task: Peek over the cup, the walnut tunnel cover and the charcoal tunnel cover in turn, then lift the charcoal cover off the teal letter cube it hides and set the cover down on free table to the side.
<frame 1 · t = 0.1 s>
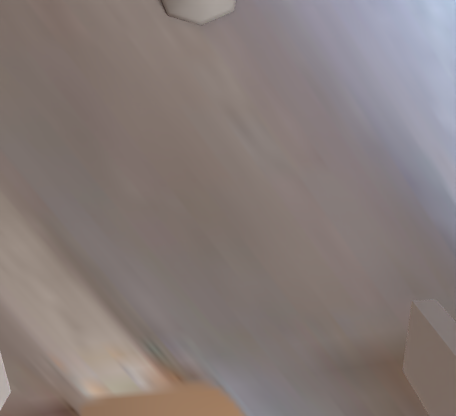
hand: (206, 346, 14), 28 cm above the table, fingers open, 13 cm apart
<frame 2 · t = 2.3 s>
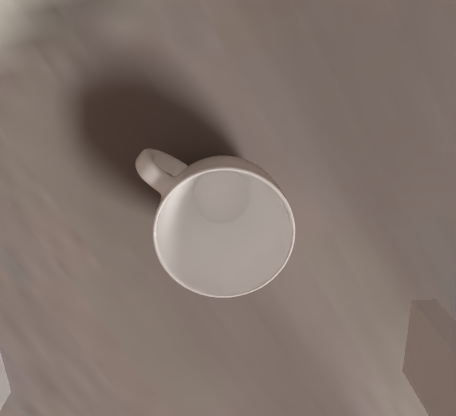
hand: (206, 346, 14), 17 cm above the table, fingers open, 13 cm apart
cup: (208, 185, 30), on the table
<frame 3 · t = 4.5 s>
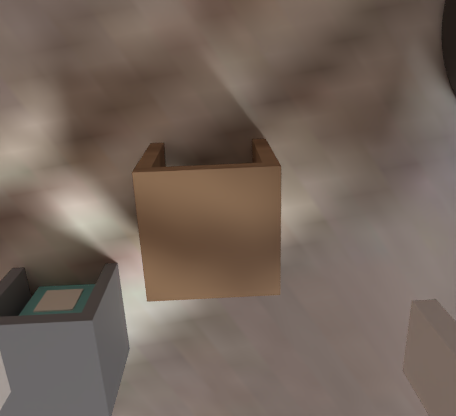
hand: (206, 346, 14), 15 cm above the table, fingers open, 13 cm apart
letter cube: (73, 309, 30), on the table
cover walnut: (210, 195, 28), on the table
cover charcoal: (73, 310, 30), on the table
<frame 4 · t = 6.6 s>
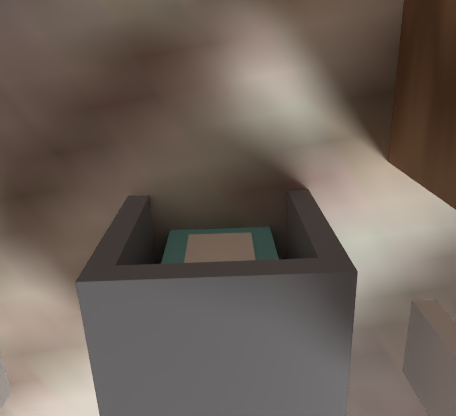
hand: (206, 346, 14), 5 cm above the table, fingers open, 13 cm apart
letter cube: (221, 271, 18), on the table
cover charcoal: (221, 272, 18), on the table
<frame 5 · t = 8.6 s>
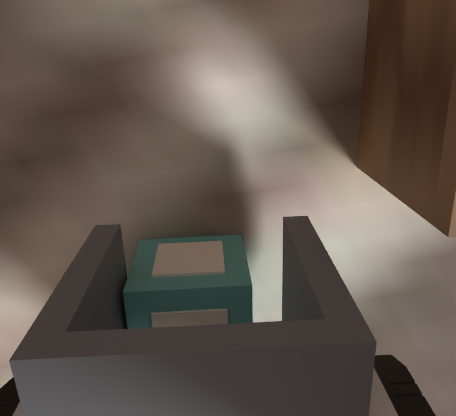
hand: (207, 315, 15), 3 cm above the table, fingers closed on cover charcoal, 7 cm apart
letter cube: (193, 280, 18), on the table
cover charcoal: (207, 310, 16), point 2 cm above the table, touching gripper
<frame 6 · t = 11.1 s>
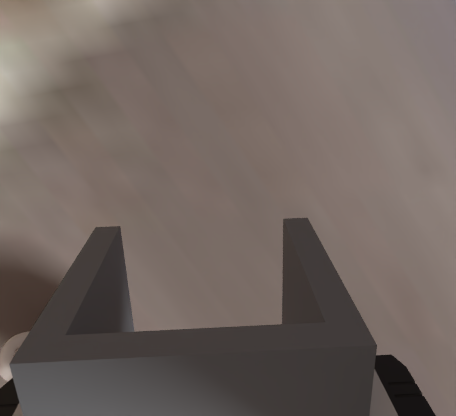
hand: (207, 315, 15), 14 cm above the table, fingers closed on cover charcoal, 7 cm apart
cup: (86, 343, 33), on the table
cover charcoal: (207, 312, 16), point 14 cm above the table, touching gripper
when the fingers open (0 cm above the table, at t = 13.9 s): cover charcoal stays where it is, on the table.
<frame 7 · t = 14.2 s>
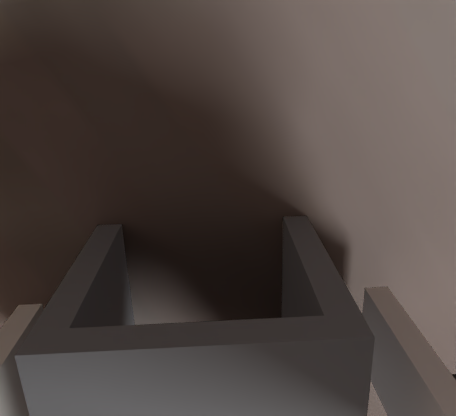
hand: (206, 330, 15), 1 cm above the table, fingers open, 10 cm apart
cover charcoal: (207, 309, 16), on the table
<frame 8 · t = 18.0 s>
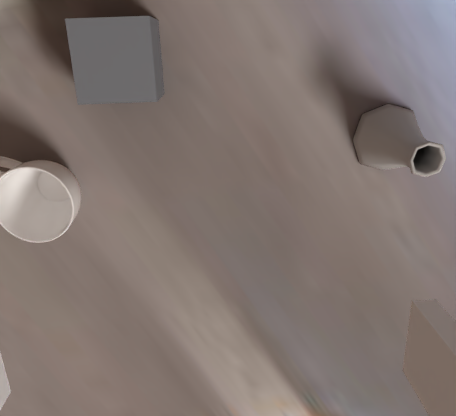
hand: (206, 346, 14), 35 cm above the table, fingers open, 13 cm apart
cup: (47, 178, 47), on the table
flask: (384, 136, 47), on the table
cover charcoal: (126, 59, 43), on the table
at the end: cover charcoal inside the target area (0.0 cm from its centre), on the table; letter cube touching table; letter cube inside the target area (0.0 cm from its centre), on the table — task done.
